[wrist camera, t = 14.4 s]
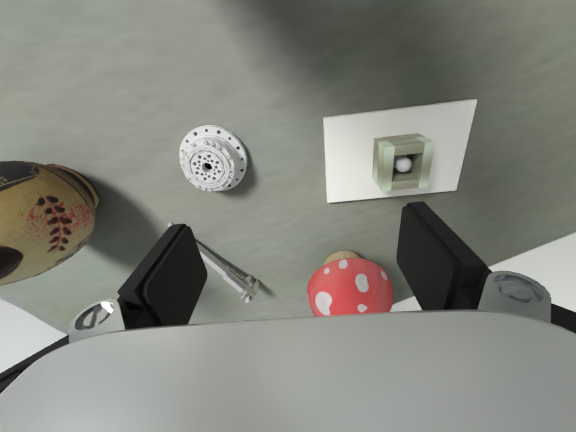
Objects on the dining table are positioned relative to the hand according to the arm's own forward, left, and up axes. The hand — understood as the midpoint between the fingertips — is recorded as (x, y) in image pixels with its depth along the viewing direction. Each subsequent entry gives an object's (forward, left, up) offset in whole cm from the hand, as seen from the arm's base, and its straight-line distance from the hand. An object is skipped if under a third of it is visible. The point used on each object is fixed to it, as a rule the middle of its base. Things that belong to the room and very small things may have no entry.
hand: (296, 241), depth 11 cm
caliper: (+22, -17, -29) cm, 40 cm away
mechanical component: (+4, -13, -29) cm, 32 cm away
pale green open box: (+6, +14, -27) cm, 31 cm away
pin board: (+6, +14, -28) cm, 32 cm away
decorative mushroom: (+25, +6, -28) cm, 38 cm away
